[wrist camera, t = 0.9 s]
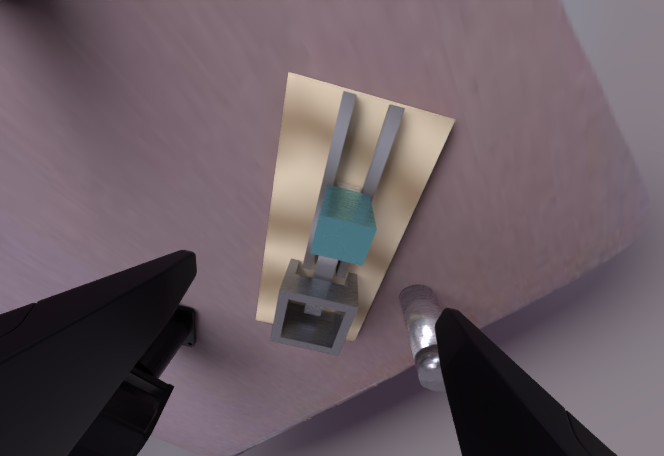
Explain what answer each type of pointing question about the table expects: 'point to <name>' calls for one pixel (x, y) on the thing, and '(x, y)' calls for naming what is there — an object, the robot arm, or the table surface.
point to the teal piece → (341, 232)
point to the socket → (312, 329)
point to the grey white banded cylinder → (423, 333)
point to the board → (345, 180)
